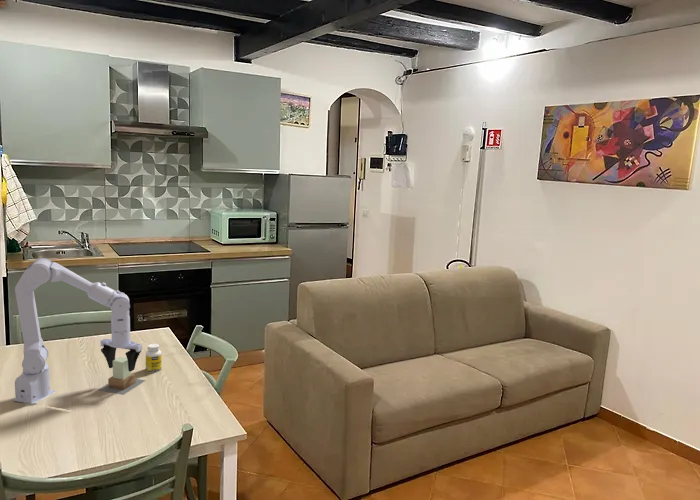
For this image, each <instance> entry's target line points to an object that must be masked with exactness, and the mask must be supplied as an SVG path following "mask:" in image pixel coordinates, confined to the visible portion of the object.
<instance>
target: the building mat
mask: <svg viewBox="0 0 700 500" xmlns="http://www.w3.org/2000/svg"><path fill="white" fill-rule="evenodd" d="M144 382H146V380H145V379H141V378H135V384H133V385H131V386H130V387H128V388H127V389H125V390H121V389H116V388H110V387H108V383H107V384H105V385H103V386H102V387H99V388H98V389H97V391H100V392H105V393H111V394H118V395H123V396H124V395H126V394H127V393H129V392H130V391H132V390H133V389H135V388H136V387H138V386H140V385H141V384H143V383H144Z"/></svg>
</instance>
